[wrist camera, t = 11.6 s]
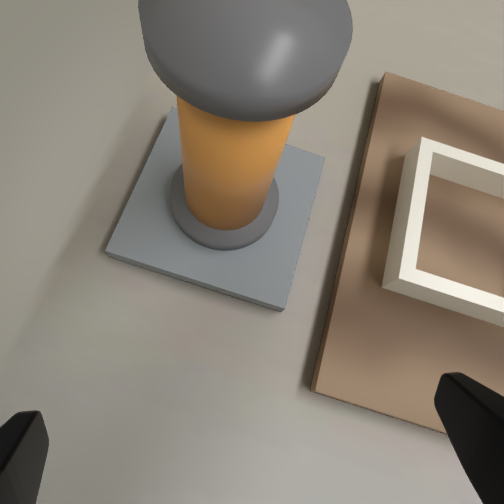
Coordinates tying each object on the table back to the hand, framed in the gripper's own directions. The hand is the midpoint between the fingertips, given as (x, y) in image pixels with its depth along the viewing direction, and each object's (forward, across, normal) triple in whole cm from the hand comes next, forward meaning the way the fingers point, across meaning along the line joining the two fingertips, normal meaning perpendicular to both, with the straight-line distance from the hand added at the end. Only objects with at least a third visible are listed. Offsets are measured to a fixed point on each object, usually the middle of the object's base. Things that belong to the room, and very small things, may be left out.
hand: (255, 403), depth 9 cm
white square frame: (+14, -15, +3) cm, 20 cm away
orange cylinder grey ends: (+15, 0, 0) cm, 15 cm away
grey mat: (+16, 0, +1) cm, 16 cm away
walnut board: (+14, -15, +3) cm, 20 cm away
